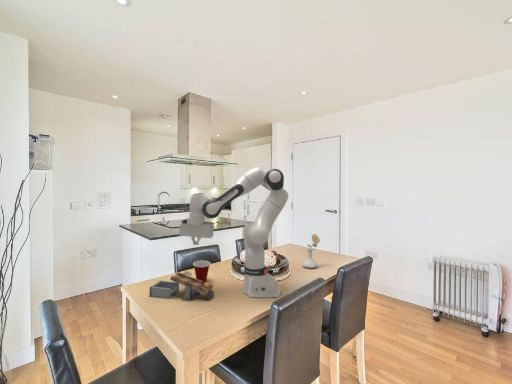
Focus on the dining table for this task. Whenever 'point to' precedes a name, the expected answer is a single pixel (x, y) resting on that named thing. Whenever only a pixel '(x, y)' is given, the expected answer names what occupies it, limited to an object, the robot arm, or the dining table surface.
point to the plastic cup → (201, 269)
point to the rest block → (210, 295)
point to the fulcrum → (190, 293)
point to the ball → (207, 285)
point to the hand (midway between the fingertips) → (195, 244)
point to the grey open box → (164, 289)
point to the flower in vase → (310, 262)
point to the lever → (191, 282)
